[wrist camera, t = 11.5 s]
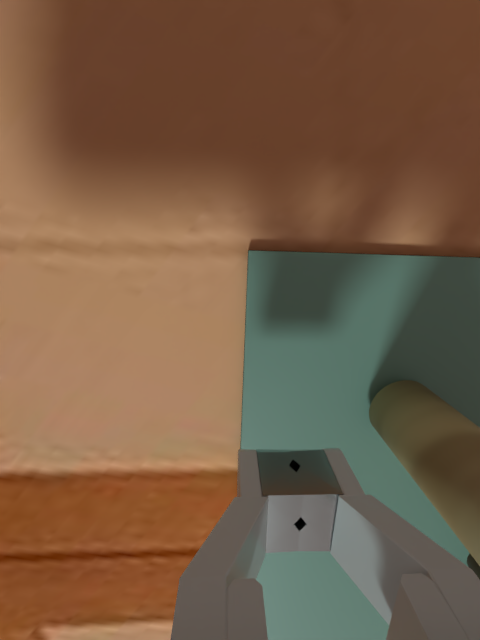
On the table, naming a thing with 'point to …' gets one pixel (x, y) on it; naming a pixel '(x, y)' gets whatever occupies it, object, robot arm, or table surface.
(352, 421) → the board
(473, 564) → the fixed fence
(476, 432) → the swing panel
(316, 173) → the table surface
